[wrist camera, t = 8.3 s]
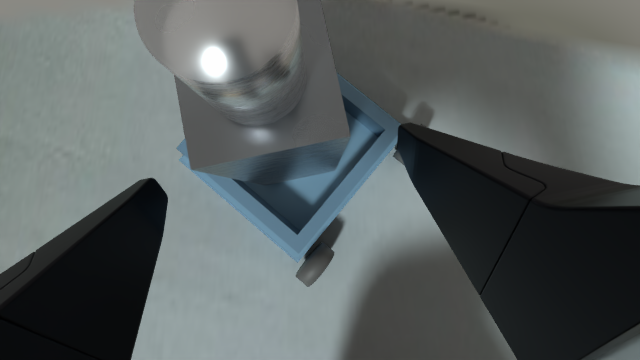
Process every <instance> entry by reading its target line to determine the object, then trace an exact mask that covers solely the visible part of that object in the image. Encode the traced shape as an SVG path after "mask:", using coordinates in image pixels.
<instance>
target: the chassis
mask: <svg viewBox="0 0 640 360" xmlns="http://www.w3.org/2000/svg"><path fill="white" fill-rule="evenodd" d="M337 77H338V81H339V86H340V90H341V95H342V99H343V104H344V108H345V113H346V117H347V122H348V126H349V131H350V135H351V137H350V139H349V141H348V143H347V145H346V148H345V150H344V152H343V154H342V157H341V159H340V161H339V163H338V166H337V168H336V170H335V171H332V172H327V173H323V174H318V175H313V176H308V177H304V178H299V179H294V180H290V181H285V182H280V183H275V184H271V185H266V186H264V185H259V184H255V183H250V182H245V181H241V180H236V179H231V178H227V177H222V176H217V175H213V174H208V173H203V172H199V171H194V170H191V168H190V163H189V157H188V151H187V146H186V140H185V139H184V140H183V141H182V142H181V143H180V145H179V146H178V147H177V149H178V150H179V151H180V152H181V153H182V154H183V156H182V157H181V158H180V159H179V161H181V162H182V163H183V164H184V165H185V166H186V167H188V168H189V169H190V170H191V171H192V172H193V173H194V174H196V175H197V176H198V177H199V178H200V179H201V180H203V181H204V182H205V183H206V184H207V185H208V186H209V187H211V188H212V189H213V190H214V191H215V192H216V193H218V194H219V195H220V196H221V197H222V198H223V199H225V200H226V201H227V202H228V203H229V204H230V205H231V206H233V207H234V208H235V209H236V210H237V211H238V212H240V213H241V214H242V215H243V216H244V217H245V218H246V219H248V220H249V221H250V222H251V223H252V224H253V225H255V226H256V227H257V228H258V229H259V230H260V231H262V232H263V233H264V234H265V235H266V236H267V237H268V238H270V239H271V240H272V241H273V242H274V243H275V244H277V245H278V246H279V247H280V248H281V249H282V250H284V251H285V252H286V253H287V254H288V255H289V256H290V257H292V258H293V259H294V260H295V261H296V262H297V263H298V262H299V260H300V259H301V258H302V257H303V256H304V254H305V253H306V252H307V251H308V250H309V248H310V247H311V246H312V245H313V244H314V242H315V241H316V240H317V239H318V238H319V236H320V235H321V234H322V233H323V232H324V230H325V229H326V228H327V227H328V226H329V224H330V223H331V222H332V221H333V220H334V218H335V217H336V216H337V215H338V213H339V212H340V211H341V210H342V209H343V207H344V206H345V205H346V204H347V203H348V201H349V200H350V199H351V198H352V197H353V195H354V194H355V193H356V192H357V191H358V189H359V188H360V187H361V186H362V185H363V183H364V182H365V181H366V180H367V179H368V177H369V176H370V175H371V174H372V172H373V171H374V170H375V169H376V168H377V166H378V165H379V164H380V163H381V162H382V160H383V159H384V158H385V157H386V156H387V154H388V153H389V152H390V151H391V150H392V148H393V147H394V146H395V145H396V144H397V139H398V127H399V125H401V124H400V123H399V122H398V121H397V120H395V119H394V118H393V117H392V116H390V115H389V114H388V113H387V112H385V111H384V110H383V109H382V108H380V107H379V106H378V105H377V104H375V103H374V102H373V101H372V100H370V99H369V98H368V97H367V96H365V95H364V94H363V93H362V92H360V91H359V90H358V89H357V88H355V87H354V86H353V85H352V84H350V83H349V82H348V81H347V80H345V79H344V78H343V77H342V76H340V75H339V74H338V73H337ZM420 126H423V127H425V126H424V125H422V124H421V125H420ZM393 157H395V158H396V159H397V160H398V161H400V162H401V163H402V164H403V165H404V163H403V160H402V158H401V156H400V153H399V151H398V149H397V151H396V152H395V153H394V155H393ZM404 166H405V165H404ZM333 256H334V251H333V250H331V249H330V248H329V247H328V246H327V245H325V244H324V243H323V242H322V243H320V244H319V245H318V246H317V247H316V248H315V249H314V251H313V252H312V253H311V254H310V255H309V257H308V258H307V259H306V260H305V262H304V263H303V264H302V266H301V267H300V269H299V270H298V272H297V274H296V277H297V278H298V279H299V280H300V281H302V282H303V283H304V284H305V285H306V286H307V287H309V286H311V285H312V284H313V283H314V282H315V281H316V280H317V279H318V278H319V277H320V275H321V274H322V273H323V272H324V270H325V269H326V267H327V266H328V265H329V263H330V261H331V260H332V258H333Z"/></svg>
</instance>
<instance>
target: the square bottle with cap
mask: <svg viewBox="0 0 640 360" xmlns="http://www.w3.org/2000/svg"><path fill="white" fill-rule="evenodd" d="M134 16H135V22H136V26H137V30H138V32H139V35H140V37H141V39H142V41H143V43H144V45H145V46H146V48H147V49H148V50H149V52H150V53H151V54H152V55H153V56H154V57H155V58H156V59H157V60H158V61H159V62H160V63H161V64H162V65H163V66H164V67H166V68H167V69H168V70H169V71H170V72H172V73H173V74H174V77H175V82H176V88H177V94H178V100H179V105H180V111H181V117H182V123H183V128H184V134H185V140H186V146H187V151H188V157H189V163H190V168H191V170H194V171H199V172H203V173H208V174H213V175H217V176H222V177H227V178H231V179H236V180H241V181H245V182H250V183H255V184H259V185H264V186H266V185H271V184H275V183H280V182H285V181H290V180H294V179H299V178H304V177H308V176H313V175H318V174H323V173H327V172H332V171H335V170H336V168H337V166H338V163H339V161H340V159H341V157H342V154H343V152H344V150H345V148H346V145H347V143H348V141H349V139H350V137H351V135H350V131H349V126H348V122H347V117H346V113H345V108H344V104H343V99H342V95H341V90H340V86H339V81H338V77H337V72H336V68H335V63H334V59H333V54H332V50H331V45H330V41H329V36H328V32H327V27H326V23H325V18H324V14H323V10H322V5H321V1H320V0H134Z"/></svg>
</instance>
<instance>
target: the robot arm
mask: <svg viewBox="0 0 640 360" xmlns="http://www.w3.org/2000/svg"><path fill="white" fill-rule="evenodd" d="M397 147H398V151H399V153H400V156H401V158H402V160H403V163H404V165H405V167H406V170H407V172H408V174H409V177H410V179H411V181H412V183H413V185H414V187H415V188H416V190H417V192H418V193H419V195H420V197H421V198H422V200H423V202H424V203H425V205H426V207H427V208H428V210H429V212H430V213H431V215H432V217H433V218H434V220H435V222H436V223H437V225H438V227H439V228H440V230H441V232H442V234H443V235H444V237H445V239H446V240H447V242H448V244H449V245H450V247H451V249H452V250H453V252H454V254H455V255H456V257H457V259H458V260H459V262H460V264H461V265H462V267H463V269H464V270H465V272H466V274H467V275H468V277H469V279H470V280H471V282H472V284H473V286H474V287H475V289H476V291H477V292H478V294H479V295H480V298H481V299H482V301H483V303H484V304H485V306H486V308H487V309H488V311H489V313H490V314H491V316H492V318H493V319H494V321H495V323H496V324H497V326H498V328H499V329H500V331H501V333H502V334H503V336H504V338H505V339H506V341H507V343H508V345H509V346H510V348H511V350H512V351H513V353H514V355H515V356H516V358H517V360H640V185H630V184H623V183H618V182H614V181H610V180H606V179H602V178H598V177H594V176H590V175H586V174H582V173H578V172H574V171H570V170H566V169H562V168H558V167H555V166H551V165H547V164H543V163H540V162H536V161H532V160H529V159H526V158H522V157H519V156H515V155H512V154H509V153H506V152H501V151H499V150H496V149H493V148H490V147H487V146H483V145H480V144H477V143H474V142H471V141H468V140H464V139H461V138H458V137H455V136H452V135H448V134H445V133H442V132H439V131H436V130H432V129H429V128H426V127H423V126H420V125H417V124H413V123H405V124H401V125H399V127H398V139H397ZM167 203H168V197H167V194H166V193H165V191H164V190H163V189H162V187H161V186H160V185H159V183H158V182H157V181H156V180H155V179H154V178H147V179H142V180H139V181H138V182H136V183H135V184H133V185H132V186H130V187H129V188H128V189H126V190H125V191H123V192H122V193H120V194H119V195H117V196H116V197H114V198H113V199H111V200H110V201H108V202H107V203H105V204H104V205H102V206H101V207H99V208H98V209H96V210H95V211H93V212H92V213H90V214H89V215H88V216H86V217H85V218H83V219H82V220H80V221H79V222H77V223H76V224H74V225H73V226H71V227H70V228H68V229H67V230H65V231H64V232H62V233H61V234H59V235H58V236H56V237H55V238H53V239H52V240H50V241H49V242H48V243H46V244H45V245H43V246H42V247H40V248H39V249H37V250H36V252H33V253H31V254H30V255H28V256H27V257H25V258H24V259H22V260H21V261H19V262H18V263H16V264H15V265H13V266H12V267H10V268H9V269H7V270H6V271H4V272H3V273H1V274H0V360H131V357H132V353H133V349H134V346H135V342H136V338H137V334H138V330H139V326H140V323H141V319H142V315H143V311H144V307H145V303H146V299H147V296H148V292H149V288H150V284H151V280H152V276H153V273H154V269H155V265H156V261H157V257H158V253H159V250H160V246H161V242H162V237H163V232H164V225H165V218H166V211H167Z"/></svg>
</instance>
